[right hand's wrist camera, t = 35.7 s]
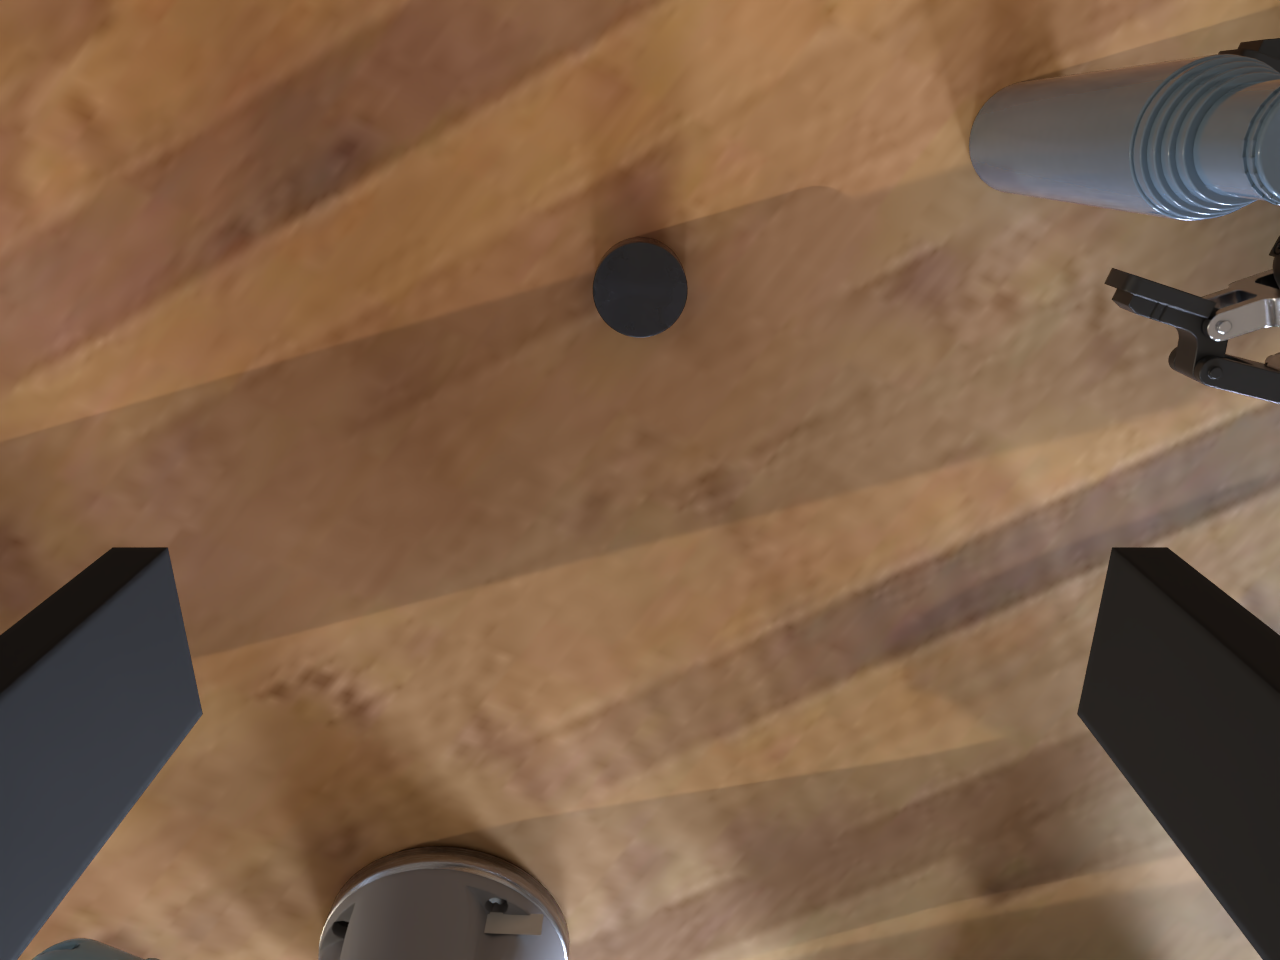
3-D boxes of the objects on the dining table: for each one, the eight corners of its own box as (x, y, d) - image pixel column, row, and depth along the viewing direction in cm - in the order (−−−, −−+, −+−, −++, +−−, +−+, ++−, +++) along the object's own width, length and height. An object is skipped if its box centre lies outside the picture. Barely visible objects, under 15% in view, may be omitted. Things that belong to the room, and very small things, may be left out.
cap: (583, 311, 43) (580, 320, 41) (611, 224, 41) (610, 228, 39) (667, 340, 43) (668, 350, 41) (698, 254, 42) (701, 260, 40)
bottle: (1003, 62, 39) (1304, 3, 21) (1094, 108, 39) (1460, 87, 22) (949, 167, 40) (1187, 192, 23) (1038, 209, 41) (1336, 265, 23)
